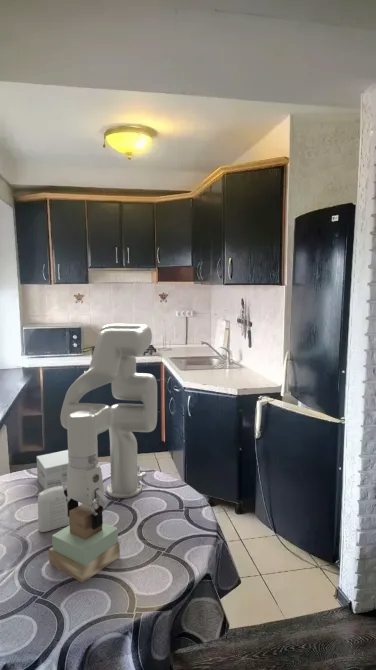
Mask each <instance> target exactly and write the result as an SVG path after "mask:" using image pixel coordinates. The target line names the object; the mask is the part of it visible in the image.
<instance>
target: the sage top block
mask: <svg viewBox="0 0 376 670" xmlns="http://www.w3.org/2000/svg"><path fill="white" fill-rule="evenodd" d="M118 530H119V528H118V527H116V526H113V525H111V524H108V523H106V522H104V521H103V524H102V530H101V531H99V532H98V533H96V534H94V535H93V536H91V537H89V538H88V539H86V540H84V539H82V538H80V537H78V536H76V535H74V534H72V533H70V525H67V526H64V527H63V528H62V529H60V530H59V531H57V532H55V533H54V534H52V535H51V536H52V537H51V540H52V541H51V542H52V547H53V550H54V551H56V552H58V553H60V554H62V555H64V556H66V557H68V558H70V559H72V560H74V561H76V562H78V563H80V564H82V565H84V566H86V565H87V564H88V563H90V562H91V561H92V560H94V559H95V558H97V557H98V556H99V555H101V554H102V553H104V552H105V551H106V550H108V549H109V548H111V547H112V546H113V545H115V544H116V543H117V542H119V534H118V532H119V531H118Z"/></svg>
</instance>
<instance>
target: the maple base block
mask: <svg viewBox="0 0 376 670" xmlns="http://www.w3.org/2000/svg"><path fill="white" fill-rule="evenodd" d="M120 549H121V547H120V541H118V542H117V543H116V544H115V545H113V546H112V547H111V548H109V549H108V550H106V551H105V552H104V553H102V554H101V555H99V556H98V557H97V558H95V559H94V560H92V561H91V562H90V563H88V564H87V565H86V566H84V565H82V564H80V563H78V562H76V561H74V560H72V559H70V558H68V557H66V556H64V555H62V554H60V553H58V552H56V551H54V550H53V546H52V547H50V548H49V549H48V558H49V559H48V561H49V563H48V564H50V565H51V566H53V567H54V568H56V569H58V570H59V571H62V572H63V573H65V574H67V575H69V576H70V577H72V578H73V579H75V580H77V581H78V582H80V583H82V584H83V583H85V582H86V581H88V580H89V579H90V578H91V577H93V576H94V575H96V574H97V573H99V572H100V571H101V570H103V569H104V568H106V567H107V566H108V565H110V564H111V563H113V562H115V561H116V560H117V559H118V558H120V556H121V554H120V553H121V552H120Z"/></svg>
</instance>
